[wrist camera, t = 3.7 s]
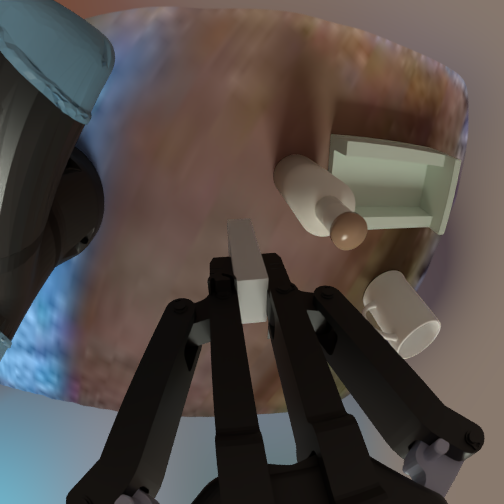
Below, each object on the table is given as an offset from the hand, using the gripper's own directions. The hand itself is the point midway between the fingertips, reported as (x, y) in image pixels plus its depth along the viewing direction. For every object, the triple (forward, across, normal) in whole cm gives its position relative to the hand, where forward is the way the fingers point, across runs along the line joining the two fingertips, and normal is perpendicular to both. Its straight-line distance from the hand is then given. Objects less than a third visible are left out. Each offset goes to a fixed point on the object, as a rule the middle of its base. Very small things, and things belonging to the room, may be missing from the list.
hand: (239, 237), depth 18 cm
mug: (+14, +24, -19) cm, 33 cm away
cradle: (+14, +20, 0) cm, 24 cm away
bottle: (+14, +8, 0) cm, 16 cm away
